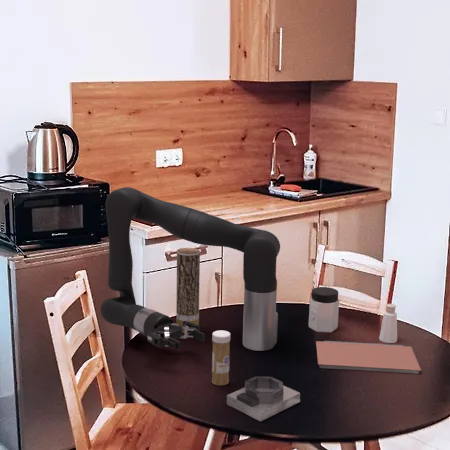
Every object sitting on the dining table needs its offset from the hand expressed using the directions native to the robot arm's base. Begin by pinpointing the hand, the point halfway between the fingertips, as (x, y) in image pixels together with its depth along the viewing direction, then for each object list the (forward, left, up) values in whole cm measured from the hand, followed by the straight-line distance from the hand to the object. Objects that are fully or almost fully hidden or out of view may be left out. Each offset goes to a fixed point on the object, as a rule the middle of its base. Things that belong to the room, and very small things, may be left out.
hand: (191, 341), depth 185 cm
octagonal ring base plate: (0, +26, -7) cm, 27 cm away
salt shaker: (-57, +24, -8) cm, 62 cm away
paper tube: (-17, -21, -8) cm, 28 cm away
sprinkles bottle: (0, +11, -8) cm, 14 cm away
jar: (-50, +5, -8) cm, 51 cm away
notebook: (-41, +27, -8) cm, 50 cm away
